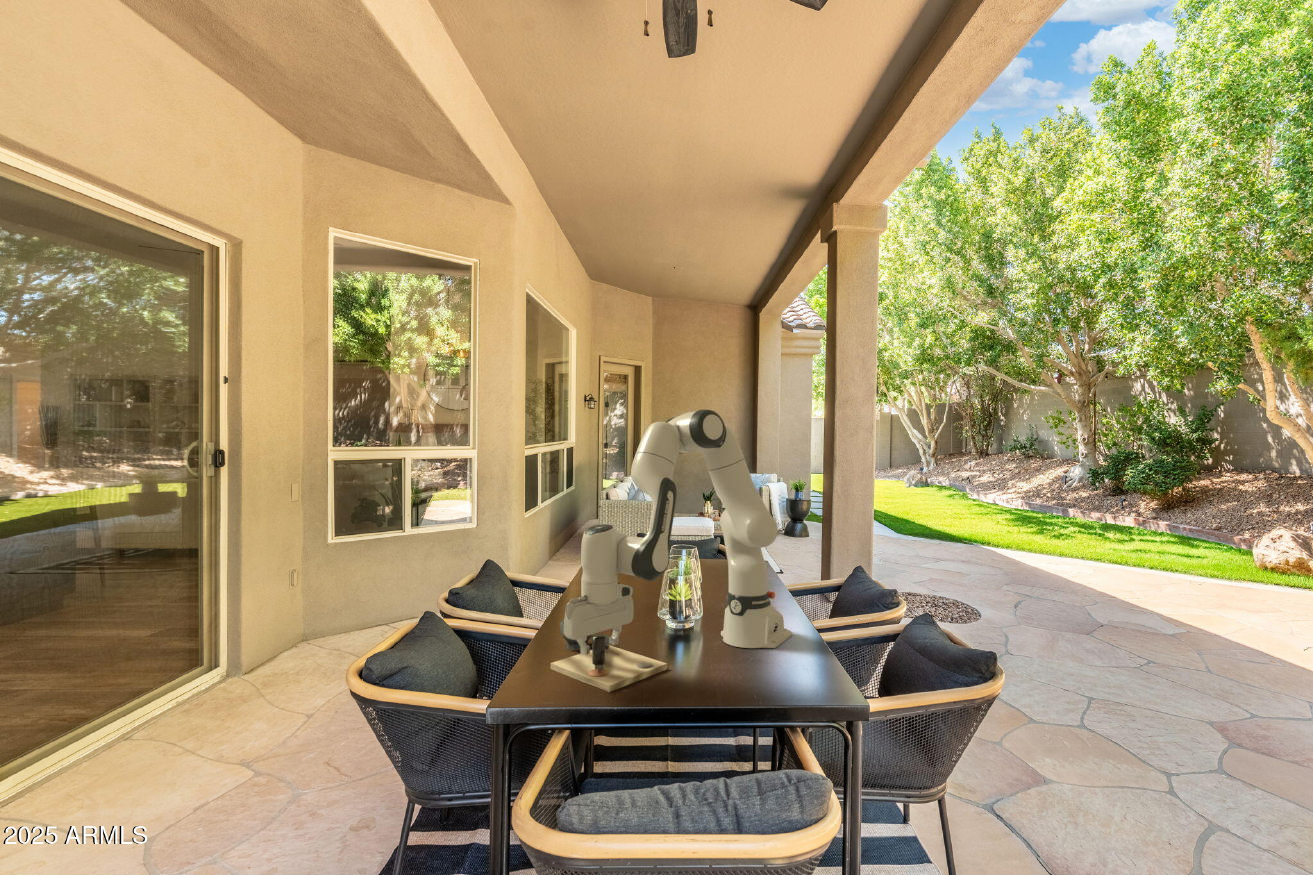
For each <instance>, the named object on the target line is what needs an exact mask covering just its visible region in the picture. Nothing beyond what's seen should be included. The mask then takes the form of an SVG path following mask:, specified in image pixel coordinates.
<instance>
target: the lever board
mask: <svg viewBox="0 0 1313 875" xmlns="http://www.w3.org/2000/svg"><path fill="white" fill-rule="evenodd" d="M549 664H550V670H552V671H554V672H557V673H560V674H561V675H563V676H564V675H565V676H566V677H570V678H572V679H575V680H577V681H580V682H582V683H585V684H587V685H590V686H593V687H594V688H598V689H600V690H603V691H605V692H608V693H610V692H613V691H616V690H618V689H621V688H623V687H626V686H628V685H631V684H634V683H635V682H638V681H639V682H640V681H641V680H643V679H646V678H649V677H651V676H654V675H656V674H659V673H661V672H664V671H666V670H667V669H668V663H667V662H663V661H661V660H657V659H655V658H654V659H653V658H651V657H647V656H645V655H642V654H639V653H635V652H632V651H629V650H625V649H623V648H618V647H616V646H614V645H611V644H609V649H607V650H605V664H604V665H603V669H595V665H594V664H592V649H590V653H588V654H586V655H583V654H581V653H578V654H576V655H572V656H569V657H566V658H562V659H560V660H559V659H558V660H556V661H553V662H550V663H549Z"/></svg>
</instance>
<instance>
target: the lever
mask: <svg viewBox="0 0 1313 875" xmlns="http://www.w3.org/2000/svg"><path fill="white" fill-rule="evenodd" d="M609 637H610V635H608V634H603V633H602V634H601V633H599V634H598V633H596V634H593V635H592V637H591V638H592V639H591V640H592V643H591V646H592V647H591V648H592V649H591V650H592V664H594V665H595V669H603V665H604V664H605V650H607V649H609V645H610V643H609V641H610V640H609Z"/></svg>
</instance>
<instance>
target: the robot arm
mask: <svg viewBox="0 0 1313 875" xmlns="http://www.w3.org/2000/svg"><path fill="white" fill-rule="evenodd" d="M698 451H699V452H700V453H701V454H702V456H703V458H704V461H705V465H706V468H707V470H708V473H709V478H710V480H711V483H712V486H713V488H714V491H715V494H716V495H717V497H718V500H720V501H721V503H722V505H723V507H724V510H723V511H722V513H721V515H720V518H719V526H720V529H721V531H722V535H723V540H724V541H723V542H724V548H725V553H726V558H727V566H728V567H727V568H728V574H727V575H728V591H727V592H726V604H727V607H726V608H725V609H724V617H723V618H724V619H723V630H721V631H720V635H721V637H722V642H724V643H725V644H727V645H730V646H732V647H736V648H737V647H738V648H744V649H745V648H746V649H761V648H762V649H763V648H764V649H775V648H777V647H779V646H780V645H781V644H783V643H784V642H785V641H786V640H788V639H789V638H791V636H793V632H792V631H791V630H789V629H787V628H785V622H784V616H783V614H782V613H781V612H780V611H778V610H777V609H776V608H775V607H774V606H773V605H772V604H771V600H773V599H775V596H776V593H775V591H769V590H767V589H768V572H767V569H768V568H767V567H768V566H767V563H766V561H765V559H764V555H763V551H762V548H767V547H769V546H771V545H772V544H773V543H775V541H776V539H777V536H778V532H779V528H778V523H777V522H776V519H775V518H774V517H773V516H772V515H771V513H770V512H769V510H768V508H767V507H766V504H765V502H764V500H763V499H762V497H761V495H760V493H759V491H758V490H757V488H756V486H755V483H754V482H753V479H752V476H751V474H750V470H749V468H748V464H747V462H746V458H745V456H744V453H743V450H742V448H741V445H740V444H739V441H738V439H737V438H736V436H735V434H734V432H733V431H732V430H731V428H729V427H728V426H726V425H725V422H724V420H723V418H722V417H721V416H720V414H718V412H716V411H714V410H712V409H698V410H695V411H689V412H684V413H682V414H681V415H678V416H674V417H672V418H669V419H668V420H666V421H655V422H652V423H651V424H650V425H649V426H648V427H647V428H646V430H645V432H644V434H643V435H642V438H641V440H640V442H639V445H638V447H637V449H636V452H635V455H634V457H633V461H632V463H631V464H632V465H631V467H630V468H631V470H630V477H631V479H632V482H633V483H634V485H635V486H636V488H638V489H639V490H640V491H642V492H643V493H645V494H646V496H649V497H650V498H651V499H650V500H651V502H652V508H651V513H650V514H651V515H650V520H649V525H648V532H647V534H646V535H645V536H644V537H639V536H633V535H628V534H627V533H626V534H625V533H623V532H620V531H618V530H617V529H615V527H614V525H612V524H605V523H603V524H602V523H601V524H596V525H591V526H590V527H588V528H586V529H585V530H584V532H583V534H582V539H581V545H580V546H581V547H580V565H581V567H582V573H581V574H582V575H581V579H580V580H581V581H580V583H581V584H580V586H581V587H580V590H581V593H580V595H581V596H579V597H574V598H571V599H570V600H569V602H568V603H567V604H566V605H565V614H564V619H563V620H564V635H565V636H566V637H567V638H569V639H573V640H577V642H578V644H579V645H580V649H581V650H580V654H583V655H586V654H588V653H590V650H591V646H590V645H589V646H587V645H586V643H585V641H586V640H587V636H589V635H592V634H593V635H596V634H598V633H599V634H600V633H601V632H605V631H608V630H611V629H613V630H612V634H611V636H609V645H610V646H615V645H618V644H619V637H620V634H621V632H622V630H623V626H625V625H627V624H631V623H632V621H633V620H634V617H635V616H634V614H635V612H634V600H633V598H632V595H633V592H634V589H633V587H632V586H629V585H626V584H622V583H619V582H618V574H620V573H621V574H624V575H628V576H634V577H637V578H640V579H642V580H645V581H649V582H652V581H656V580H658V579H659V578H660V577H662V576H663V574H664V573H665V572H666V571H667V569H668V567H669V564H670V555H671V554H670V547H671V546H670V543H671V537H672V529H673V523H674V518H675V512H676V511H675V510H676V503H677V496H678V495H677V492H678V491H677V486H676V484H675V482H674V481H673V480H674V479H673V477H674V470H675V468H676V462H677V460H678V456H679V455H681V454H687V453H688V454H689V453H696V452H698ZM593 635H592V636H593Z"/></svg>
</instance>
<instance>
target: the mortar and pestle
mask: <svg viewBox="0 0 1313 875" xmlns="http://www.w3.org/2000/svg"><path fill="white" fill-rule="evenodd" d="M559 628H560V629H559V630H560V634H561V636H562V638H563V639H564V640H565V642H566V649H568V650H571V651H581V649H580V645H579V644H578V642H577V640H573V639H569V638H567V637H566V636H565V635H564V619H563V620H562V621H561V622H559ZM593 635H594V634H592V635H589V636H587V640H586V641H585V643H586V645H587V646H590V644H589V640H590V639H591V638H592V636H593Z"/></svg>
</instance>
